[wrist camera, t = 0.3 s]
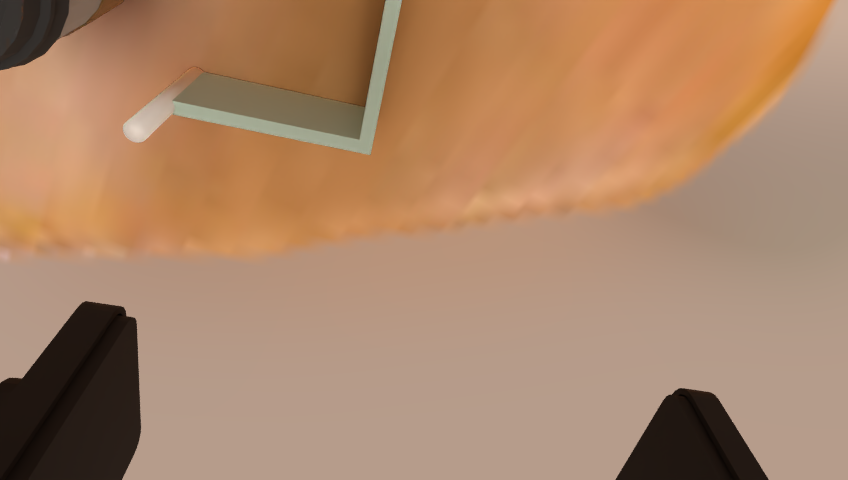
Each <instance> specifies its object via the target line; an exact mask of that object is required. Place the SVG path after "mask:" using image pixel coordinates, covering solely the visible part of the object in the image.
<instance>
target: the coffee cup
mask: <svg viewBox="0 0 848 480" xmlns="http://www.w3.org/2000/svg"><path fill="white" fill-rule="evenodd" d="M123 1H124V0H0V70H4V69H9V68H11V67H16V66H21V65H25V64H27V63H29V62H31V61H33V60H34V59H36V58H38V57H40V56H42V55H44V54H45V53H46V52H47V51H48V50H49V48H50V47H51V46H52V45H53V44H54V43H55V42H56V40H58V39H59V38H61V37H64V36H67V35H69V34H71V33H73V32H74V31H76V30H78V29H80V28H82V27H83V26H85V25H87V24H88V23H90V22H92V21H93V20H95V19H97V18H98V17H100V16H101V15H103V14H105V13H106V12H108V11H110V10H111V9H113V8H114V7H116V6H118V5H119V4H121V3H122V2H123Z"/></svg>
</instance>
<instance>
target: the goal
mask: <svg viewBox="0 0 848 480" xmlns="http://www.w3.org/2000/svg"><path fill="white" fill-rule="evenodd" d="M401 2H402V0H385V4H384V10H383V15H382V20H381V25H380V31H379V36H378V41H377V47H376V52H375V57H374V62H373V68H372V73H371V78H370V84H369V89H368V94H367V99H366V105H365V107H363V106H358V105H354V104H349V103H345V102H340V101H335V100H331V99H326V98H322V97H317V96H312V95H308V94H303V93H299V92H294V91H289V90H285V89H280V88H276V87H271V86H266V85H262V84H257V83H253V82H248V81H243V80H239V79H234V78H230V77H225V76H220V75H216V74H211V73H207V72H203V71H202V70H201V69H200V68H197V67H192V68H190V69H188V70H187V71H186V72H185V73H184V74H183V75H181V76H180V77H179V78H178V79H177V80H175V81H174V82H173V83H172V84H171V85H169V86H168V87H167V88H166V89H165V90H163V91H162V92H161V93H160V94H159V95H157V96H156V97H155V98H154V99H153V100H151V101H150V102H149V103H148V104H147V105H145V106H144V107H143V108H142V109H141V110H140V111H138V112H137V113H136V114H135V115H134V116H132V117H131V118H130V119H129V120H128V121H126V122H125V123H124V125H123V132H124V134H125V136H126V137H127V138H128V139H129V140H131V141H133V142H137V143H140V142H143V141H145V140H146V139H147V138H148V137H149V136H150V135H151V134H152V133H153V132H154V131H155V130H156V129H157V128H158V127H159V126H160V125H161V124H162V123H163V122H164V121H166V120H167V119H168V118H169V117H170V116H171V115H172V114H173V115H178V116H183V117H187V118H192V119H197V120H202V121H207V122H212V123H217V124H221V125H226V126H231V127H236V128H241V129H246V130H251V131H256V132H260V133H265V134H270V135H275V136H280V137H285V138H290V139H295V140H299V141H304V142H309V143H314V144H319V145H324V146H329V147H333V148H338V149H343V150H348V151H353V152H358V153H363V154H368V155H371V150H372V145H373V140H374V135H375V130H376V126H377V121H378V116H379V111H380V106H381V101H382V96H383V91H384V86H385V81H386V76H387V71H388V66H389V61H390V57H391V52H392V47H393V42H394V37H395V32H396V27H397V22H398V17H399V12H400V7H401Z"/></svg>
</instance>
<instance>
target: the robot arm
mask: <svg viewBox="0 0 848 480" xmlns="http://www.w3.org/2000/svg"><path fill="white" fill-rule="evenodd" d="M137 345H138V344H137V324H136V319H135V318H133V317H127V316H126V311H125V309H124V307H121V306H115V305H108V304H100V303H93V302H87V301H86V302H83V303H82V304H81V305H80V306H79V307H78V308H77V309H76V310H75V312H74V313H73V314H72V315H71V317H70V318H69V319H68V321H67V322H66V323H65V324H64V326H63V327H62V328H61V330H60V331H59V332H58V334H57V335H56V336H55V337H54V339H53V340H52V341H51V342H50V344H49V345H48V346H47V348H46V349H45V350H44V351H43V353H42V354H41V355H40V357H39V358H38V359H37V361H36V362H35V363H34V364H33V366H32V367H31V368H30V370H29V371H28V372H27V373H26V374H25V376H24V377H23V378H22V379H20V378H8V379H6V380H4V381H3V382H1V383H0V480H122V478H123V476H124V474H125V472H126V470H127V468H128V466H129V464H130V462H131V459H132V457H133V455H134V453H135V451H136V448H137V445H138V442H139V438H140V433H141V419H140V395H139V371H138V370H139V369H138V346H137ZM616 480H768V478H767V477H766V475H765V473H764V472H763V470H762V469H761V467H760V465H759V463H758V462H757V460H756V459H755V457H754V455H753V454H752V452H751V451H750V449H749V447H748V446H747V444H746V443H745V441H744V439H743V438H742V436H741V435H740V433H739V431H738V430H737V428H736V427H735V425H734V423H733V422H732V420H731V419H730V417H729V415H728V414H727V412H726V411H725V409H724V407H723V406H722V404H721V403H720V401H719V399H718V398H717V397H716V396H715V395H714V394H712V393H710V392H704V391H697V390H691V389H682V388H680V389H678V390H676V391H675V392H674V393H673V394H672V395H668V396H666V398H665V399H664V400H663V402H662V403H661V405H660V407H659V408H658V410H657V412H656V413H655V415H654V417H653V419H652V420H651V422H650V423H649V425H648V427H647V429H646V430H645V432H644V433H643V435H642V437H641V438H640V440H639V442H638V443H637V445H636V447H635V448H634V450H633V452H632V453H631V455H630V457H629V458H628V460H627V462H626V463H625V465H624V466H623V468H622V470H621V471H620V473H619V475H618V476H617V478H616Z"/></svg>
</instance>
